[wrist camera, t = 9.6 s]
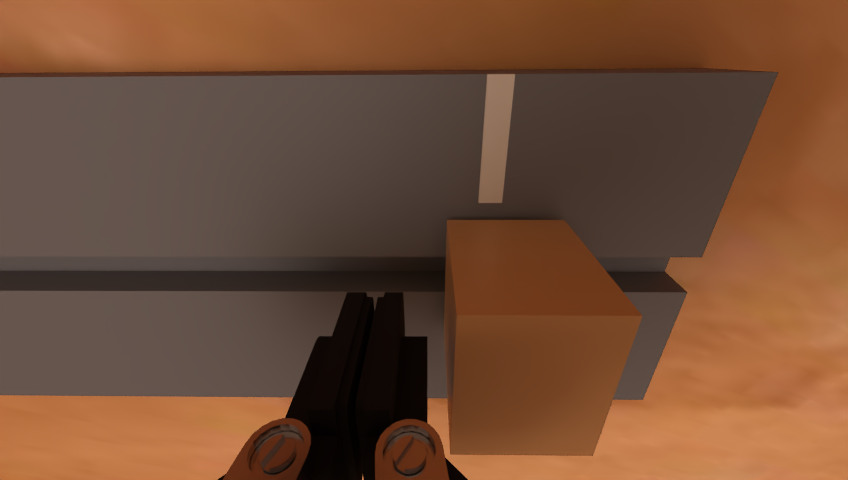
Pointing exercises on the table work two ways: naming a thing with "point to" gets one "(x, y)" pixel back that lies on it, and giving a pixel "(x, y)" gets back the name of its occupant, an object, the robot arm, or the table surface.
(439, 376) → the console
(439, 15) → the table surface
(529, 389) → the slider tab
